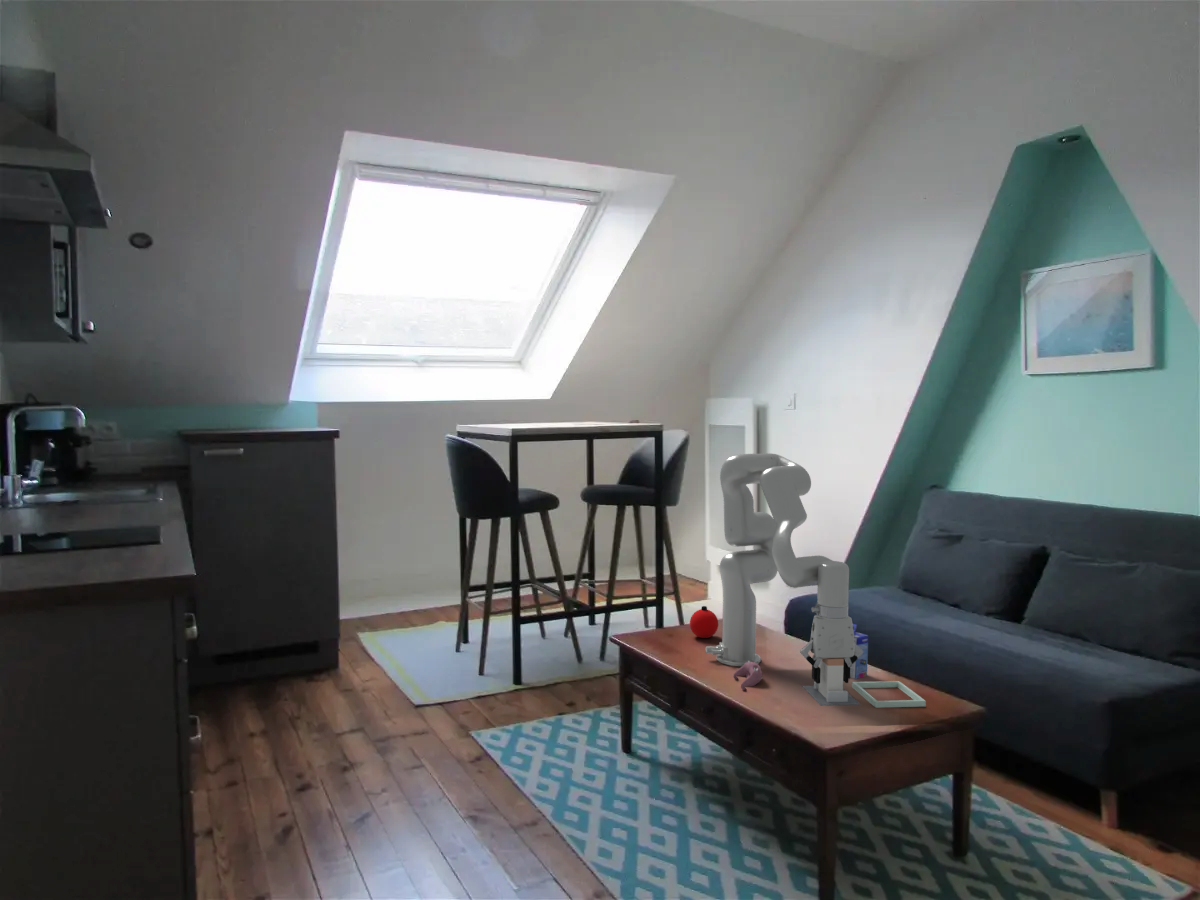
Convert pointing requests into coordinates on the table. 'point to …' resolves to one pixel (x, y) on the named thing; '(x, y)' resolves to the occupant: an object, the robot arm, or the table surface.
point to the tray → (915, 702)
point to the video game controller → (749, 674)
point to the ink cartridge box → (861, 663)
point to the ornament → (704, 623)
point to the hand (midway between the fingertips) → (830, 681)
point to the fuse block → (831, 696)
